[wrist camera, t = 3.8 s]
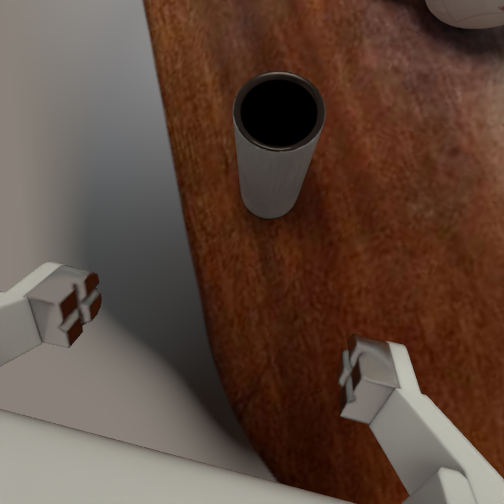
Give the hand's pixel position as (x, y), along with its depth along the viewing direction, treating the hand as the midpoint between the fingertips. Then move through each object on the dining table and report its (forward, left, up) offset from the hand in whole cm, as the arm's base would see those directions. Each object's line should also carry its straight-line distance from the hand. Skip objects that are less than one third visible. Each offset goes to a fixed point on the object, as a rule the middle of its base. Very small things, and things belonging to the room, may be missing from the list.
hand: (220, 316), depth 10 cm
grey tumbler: (-2, +10, -14) cm, 17 cm away
